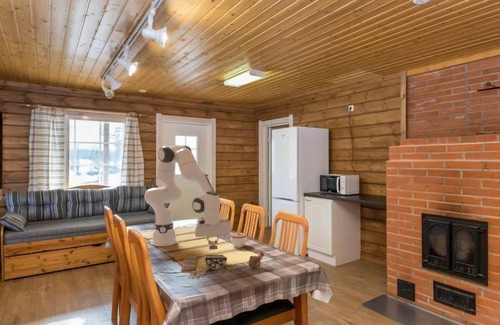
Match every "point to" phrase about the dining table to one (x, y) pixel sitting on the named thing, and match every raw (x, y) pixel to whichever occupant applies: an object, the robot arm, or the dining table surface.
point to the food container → (215, 261)
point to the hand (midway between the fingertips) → (212, 243)
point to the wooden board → (189, 264)
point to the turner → (212, 245)
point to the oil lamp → (255, 260)
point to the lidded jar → (238, 239)
